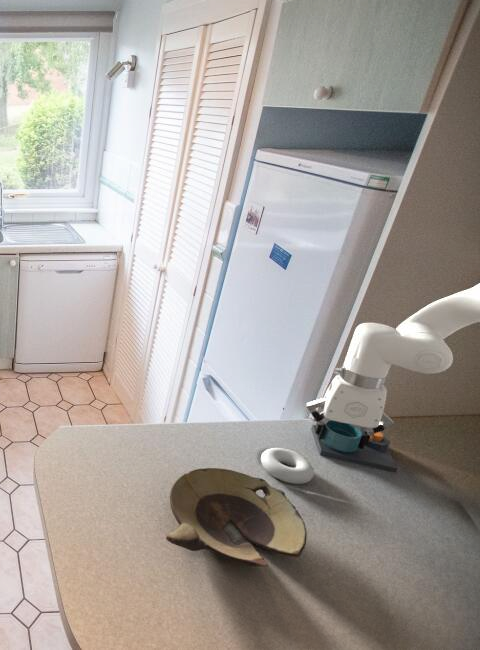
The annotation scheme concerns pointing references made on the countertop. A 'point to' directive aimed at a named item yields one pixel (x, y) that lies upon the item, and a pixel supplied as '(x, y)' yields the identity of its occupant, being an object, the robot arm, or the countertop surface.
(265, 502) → the broken ceramic bowl
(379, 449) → the scale
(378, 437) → the tare button
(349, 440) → the small bowl
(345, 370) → the robot arm
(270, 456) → the donut
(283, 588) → the countertop surface
